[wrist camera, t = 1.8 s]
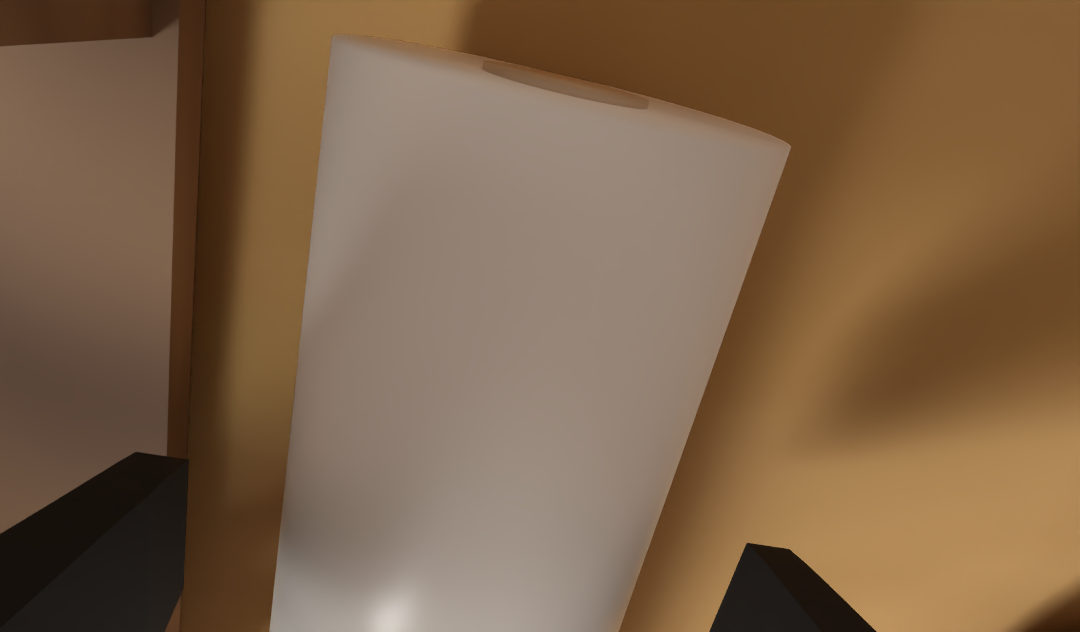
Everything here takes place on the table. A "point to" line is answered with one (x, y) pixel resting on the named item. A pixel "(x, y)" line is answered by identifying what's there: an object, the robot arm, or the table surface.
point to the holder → (95, 239)
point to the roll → (501, 339)
